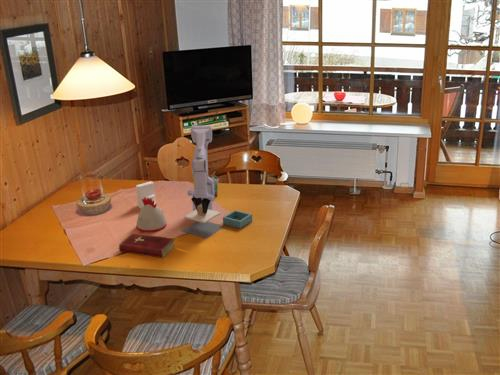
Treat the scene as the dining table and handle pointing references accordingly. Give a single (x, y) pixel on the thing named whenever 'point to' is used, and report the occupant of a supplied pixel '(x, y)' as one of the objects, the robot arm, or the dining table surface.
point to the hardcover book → (147, 245)
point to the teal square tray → (237, 219)
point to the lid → (201, 215)
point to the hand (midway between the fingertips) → (202, 212)
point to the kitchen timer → (150, 217)
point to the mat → (203, 229)
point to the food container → (215, 184)
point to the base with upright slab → (145, 193)
